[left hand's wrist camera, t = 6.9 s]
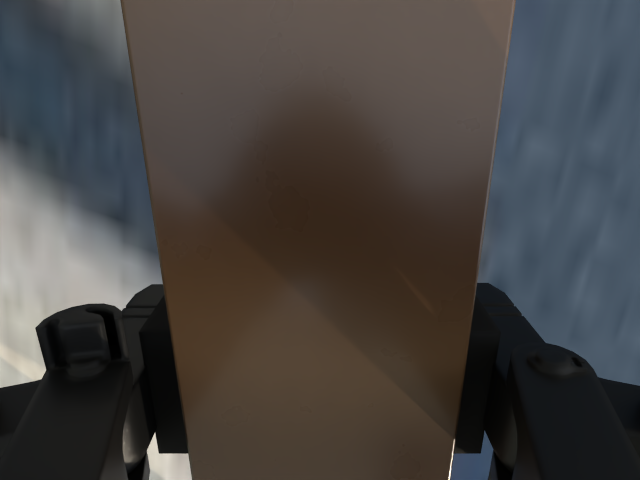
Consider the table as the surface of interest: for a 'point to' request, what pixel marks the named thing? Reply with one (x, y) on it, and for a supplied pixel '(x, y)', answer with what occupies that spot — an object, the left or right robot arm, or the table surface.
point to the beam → (319, 223)
